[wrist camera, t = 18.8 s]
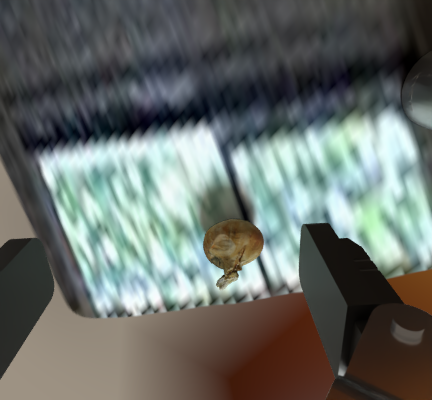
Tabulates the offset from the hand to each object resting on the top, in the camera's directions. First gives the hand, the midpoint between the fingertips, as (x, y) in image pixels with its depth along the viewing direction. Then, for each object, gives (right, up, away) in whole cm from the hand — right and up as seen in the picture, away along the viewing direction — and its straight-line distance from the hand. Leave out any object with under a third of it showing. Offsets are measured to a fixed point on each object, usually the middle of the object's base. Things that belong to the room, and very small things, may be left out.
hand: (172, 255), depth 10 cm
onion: (+4, -3, +37) cm, 37 cm away
